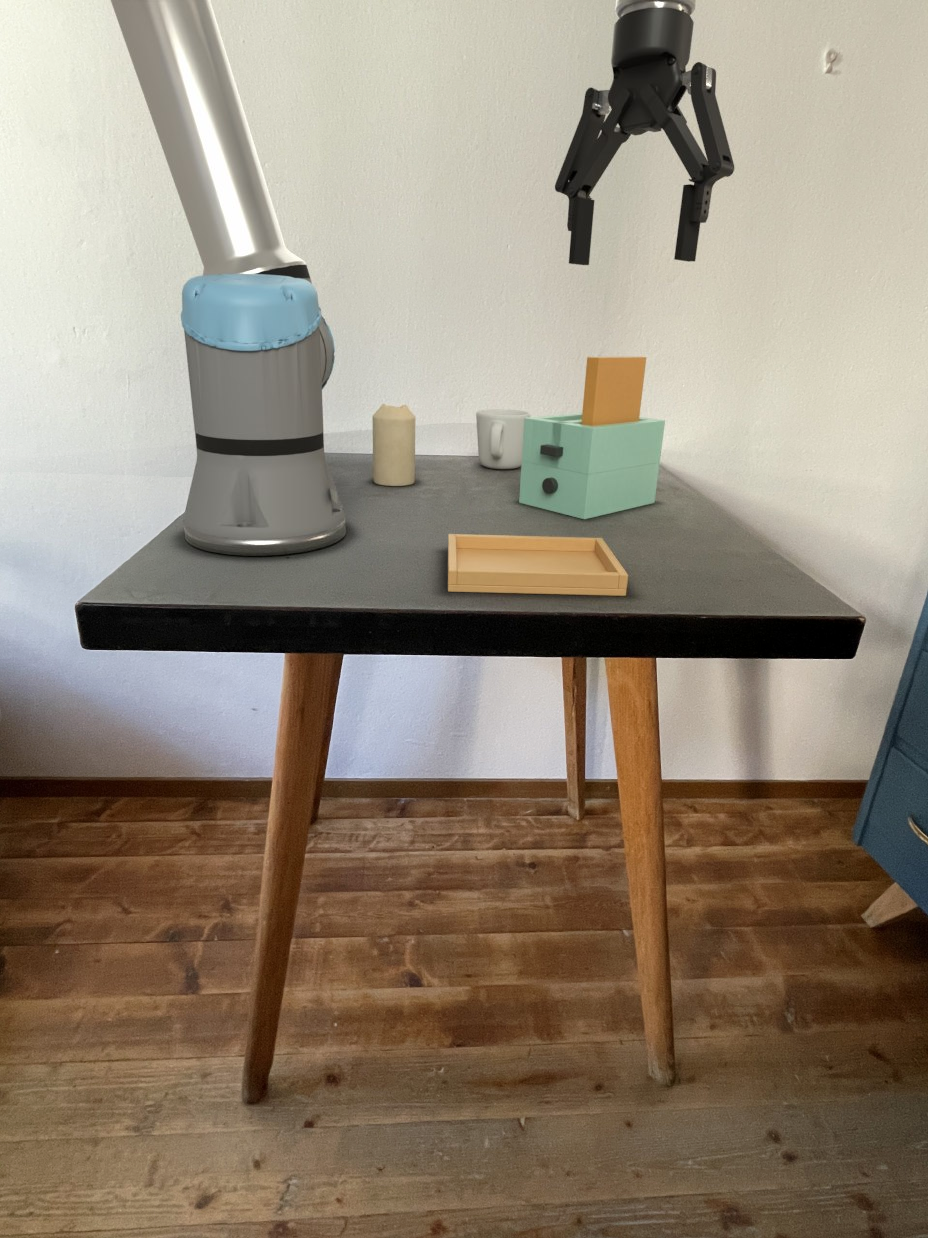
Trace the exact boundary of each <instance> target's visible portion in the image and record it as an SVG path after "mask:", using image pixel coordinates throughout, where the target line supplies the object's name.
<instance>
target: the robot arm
mask: <svg viewBox="0 0 928 1238" xmlns="http://www.w3.org/2000/svg"><path fill="white" fill-rule="evenodd" d="M110 2H111V5H112V8H113V11H114V13H115V16H116V20H117V23H118V25H119V28H120V32H121V34H122V37H123V40H124V42H125V45H126V48H127V51H128V54H129V57H130V59H131V63H132V66H133V69H134V71H135V74H136V77H137V81H138V83H139V85H140V88H141V91H142V94H143V97H144V99H145V102H146V105H147V108H148V111H149V114H150V117H151V120H152V122H153V126H154V129H155V131H156V134H157V137H158V140H159V143H160V146H161V148H162V151H163V155H164V157H165V160H166V162H167V165H168V169H169V171H170V174H171V177H172V180H173V183H174V185H175V189H176V191H177V195H178V197H179V200H180V203H181V206H182V209H183V211H184V215H185V217H186V220H187V223H188V226H189V228H190V232H191V234H192V238H193V240H194V243H195V246H196V249H197V252H198V255H199V257H200V260H201V263H202V265H203V271H202V272H203V273H202V275H199V276H194V277H192V278H190V279H188V280H187V281H186V282H185V283H184V285H183V286H182V290H181V312H180V321H181V327H182V328H183V334H184V342H185V351H186V363H187V371H188V380H189V389H190V399H191V400H190V401H191V408H192V419H193V429H194V435H195V436H194V437H195V447H196V461H195V466H194V471H193V475H192V479H191V484H190V487H189V492H188V497H187V502H186V504H185V510H184V514H183V529H184V538H185V541H186V542H187V543H188V544H190V545H191V546H193V547H195V548H197V549H200V550H203V551H206V552H211V553H215V554H223V555H233V556H248V557H249V556H257V557H258V556H280V555H289V554H297V553H298V554H299V553H305V552H309V551H314V550H317V549H322V548H325V547H328V546H332V545H333V544H335V543H337V542H339V541H340V540H342V539H343V538H344V537H345V535H346V533H347V527H346V526H347V523H346V514H345V510H344V506H343V503H342V501H341V498H340V495H339V493H338V489H337V487H336V484H335V481H334V478H333V476H332V472H331V470H330V468H329V465H328V462H327V459H326V455H325V439H324V438H325V437H324V435H325V434H324V409H323V407H324V406H323V389H324V388H325V387H326V385H327V383H328V381H329V379H330V378H331V376H332V372H333V370H334V364H335V357H336V356H335V352H336V349H335V343H334V338H333V337H334V336H333V334H332V330H331V329H330V326H329V325H328V323H327V322H326V319H325V318H324V316H323V315H322V308H321V307H320V304H319V296H318V295H319V294H318V291H317V289H316V287H315V285H314V284H313V283H312V278H311V275H310V272H309V269H308V265H307V263H306V261H305V260H303V259H302V258H301V257H299V256H298V255H296V254H294V253H293V252H291V251H290V250H289V249H288V247H286V243H285V241H284V237H283V233H282V230H281V226H280V224H279V223H280V222H279V220H278V216H277V213H276V210H275V207H274V204H273V200H272V197H271V194H270V190H269V188H268V185H267V181H266V178H265V175H264V171H263V168H262V165H261V162H260V158H259V155H258V152H257V148H256V145H255V142H254V139H253V136H252V132H251V128H250V126H249V122H248V119H247V115H246V113H245V109H244V106H243V102H242V99H241V96H240V93H239V90H238V85H237V83H236V80H235V77H234V76H235V75H234V74H233V70H232V66H231V63H230V61H229V58H228V57H229V56H228V54H227V51H226V47H225V44H224V40H223V38H222V35H221V31H220V27H219V25H218V21H217V18H216V15H215V11H214V8H213V4H212V1H211V0H110ZM696 6H697V0H615V6H614V13H615V15H616V17H617V18H618V19H617V21H616V22H615V23H614V25H613V35H612V46H611V56H610V64H611V68H612V69H611V70H612V74H613V75H612V77H613V78H612V81H611V85H610V88H609V89H597V88H594V87H588V88H587V89H586V91H585V94H584V100H583V107H582V113H581V116H580V118H579V121H578V123H577V126H576V129H575V132H574V134H573V136H572V139H571V142H570V145H569V147H568V150H567V153H566V155H565V158H564V159H563V163H562V166H561V168H560V171H559V173H558V176H557V179H556V181H555V183H554V190H555V191H556V193H560V194H562V195H565V196H566V197H567V198H568V211H567V222H566V223H567V224H566V227H567V231H568V232H570V241H569V255H568V264H569V265H579V266H590V258H591V246H592V235H593V234H592V233H593V224H594V223H593V222H594V213H595V212H594V211H595V199H593V198H592V197H591V196H590V195H591V194H592V192H593V190H594V189H595V187H596V186H597V184H598V182H599V181H600V179H601V178H602V176H603V175H604V173H605V171H606V170H607V168H608V167H609V165H610V163H611V162H612V160H613V159H614V157H615V156H616V154H617V152H618V151H619V150H620V148H621V146H622V145H623V144H624V143H627V141H628V140H629V139H630V137H631V135H633V136H635V137H636V136H640V135H644V134H645V133H647V132H653V133H658V132H662V130H663V132H664V133H665V136H666V137H667V139H668V141H669V142H670V145H671V146H672V147H673V149H674V151H675V153H676V154H677V156H678V159H679V160H680V162H681V163H682V165H683V167H684V168H685V170H686V172H687V174H688V176H689V177H690V178H688V181H689V182H691V183H693V184H691V183H690V184H683V186H682V194H681V202H680V211H679V217H678V227H677V235H676V242H675V249H674V250H675V251H674V259H673V260H676V261H682V262H696V259H697V257H696V256H697V250H698V245H699V244H698V243H699V237H700V236H699V235H700V229H701V224H706V222H707V221H708V218H709V214H710V207H711V199H712V194H713V193H712V192H713V188H714V185H715V184H716V182H718V181H719V180H721V179H723V178H725V177H726V178H729V177H731V176H732V175H733V173H734V172H735V163H734V159H733V155H732V152H731V147H730V145H729V144H730V143H729V141H728V137H727V134H726V130H725V125H724V122H723V118H722V116H721V115H722V114H721V111H720V107H719V104H718V100H717V99H718V98H717V96H716V87H717V86H716V85H717V70H716V69H715V68H713V67H712V66H709V65H707V64H705V63H703V62H700V61H697V62H694V64H693V65H692V67H691V69H690V70H688V71H687V70H686V67H687V65H688V64H689V61H690V59H691V51H692V49H691V48H692V40H693V33H694V32H693V31H694V25H695V23H694V20H693V18H692V17H691V15H693V13H694V12H695V10H696ZM686 92H687V94H688V95H690V99H691V105H692V107H693V111H694V116H695V119H696V122H697V127H698V130H699V134H700V137H701V141H702V145H703V148H704V152H705V154H704V152H703V150H702V148H701V147H700V145H699V144H698V142H697V140H696V138H695V137H694V135H693V132H692V131H691V130H690V128H689V126H688V124H687V123H688V121H687V119H686V117H685V115H684V114H683V112H682V110H681V108H680V107H679V104H680V102H681V100H682V99H683V97H684V95H685V94H686ZM607 114H608V115H607ZM606 115H607V116H606Z"/></svg>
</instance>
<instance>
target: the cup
mask: <svg viewBox="0 0 928 1238" xmlns="http://www.w3.org/2000/svg"><path fill="white" fill-rule="evenodd" d="M475 416H476V417H475V418H476V436H477V451H478V452H477V453H478V460H479V462H480V463H479V464H481V465H482V466H483V467H485V468H489V469H492V470H493V469H494V470H515V469H517V468H520V467H521V464H522V449H523V432H524V418H529V417H532V415H531V412H528V411H524V410H517V409H505V408H492V409H491V408H489V409H488V408H486V409H480V410H477V411H476V413H475Z"/></svg>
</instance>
